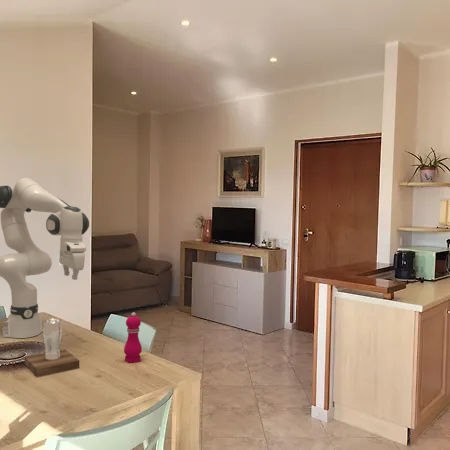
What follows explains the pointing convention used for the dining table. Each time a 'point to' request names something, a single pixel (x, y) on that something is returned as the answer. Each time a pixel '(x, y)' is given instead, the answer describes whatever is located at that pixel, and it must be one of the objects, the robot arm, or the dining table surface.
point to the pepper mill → (132, 339)
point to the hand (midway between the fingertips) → (70, 277)
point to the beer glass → (52, 338)
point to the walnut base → (51, 363)
